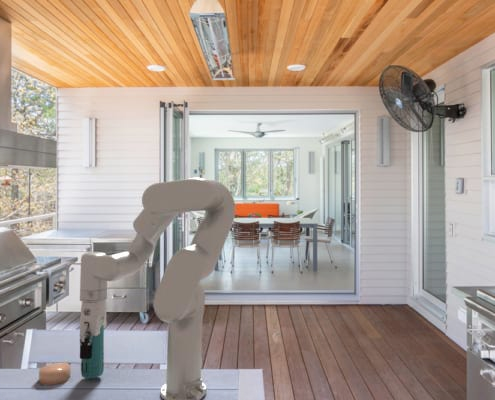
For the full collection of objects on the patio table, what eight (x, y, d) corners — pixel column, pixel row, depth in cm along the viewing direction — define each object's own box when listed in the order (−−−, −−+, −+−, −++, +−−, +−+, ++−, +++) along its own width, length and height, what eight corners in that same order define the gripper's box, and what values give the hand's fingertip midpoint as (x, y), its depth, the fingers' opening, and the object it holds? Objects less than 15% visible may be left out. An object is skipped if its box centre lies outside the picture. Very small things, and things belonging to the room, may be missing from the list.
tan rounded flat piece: (74, 379, 118) (74, 369, 118) (43, 388, 113) (43, 377, 113) (65, 370, 124) (65, 360, 124) (35, 377, 119) (35, 367, 119)
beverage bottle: (107, 374, 122) (108, 309, 122) (97, 384, 115) (98, 315, 115) (87, 373, 123) (88, 308, 123) (75, 383, 116) (77, 314, 116)
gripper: (96, 302, 110) (94, 364, 110) (114, 288, 128) (113, 341, 128) (68, 301, 110) (66, 363, 110) (91, 287, 127) (89, 341, 128)
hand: (91, 351), depth 119 cm, fingers open, 9 cm apart
